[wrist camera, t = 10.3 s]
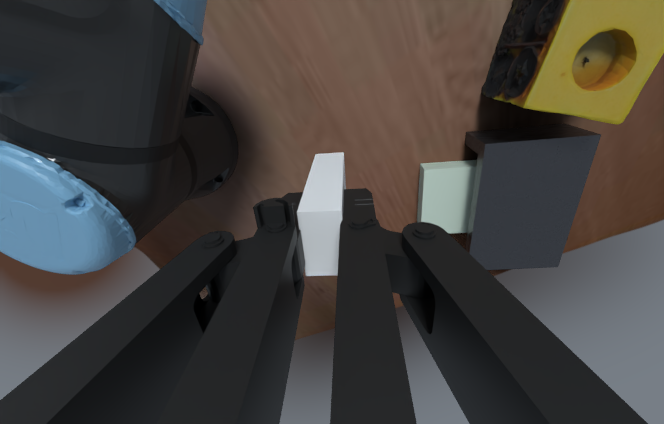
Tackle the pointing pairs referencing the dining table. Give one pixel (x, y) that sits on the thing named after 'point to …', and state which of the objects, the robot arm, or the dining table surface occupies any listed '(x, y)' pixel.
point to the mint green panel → (446, 194)
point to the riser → (526, 193)
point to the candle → (577, 56)
